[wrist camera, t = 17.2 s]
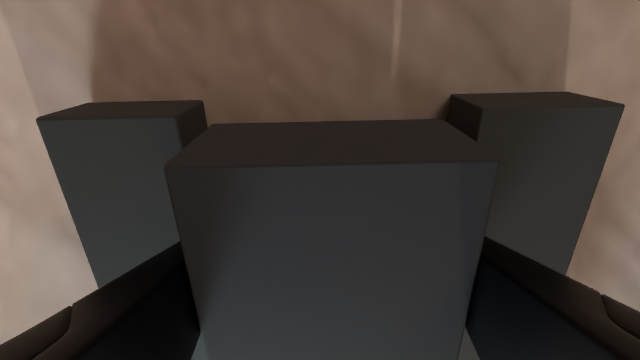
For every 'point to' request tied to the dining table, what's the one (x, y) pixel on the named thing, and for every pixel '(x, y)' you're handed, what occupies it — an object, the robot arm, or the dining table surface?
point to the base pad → (464, 114)
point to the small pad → (332, 237)
